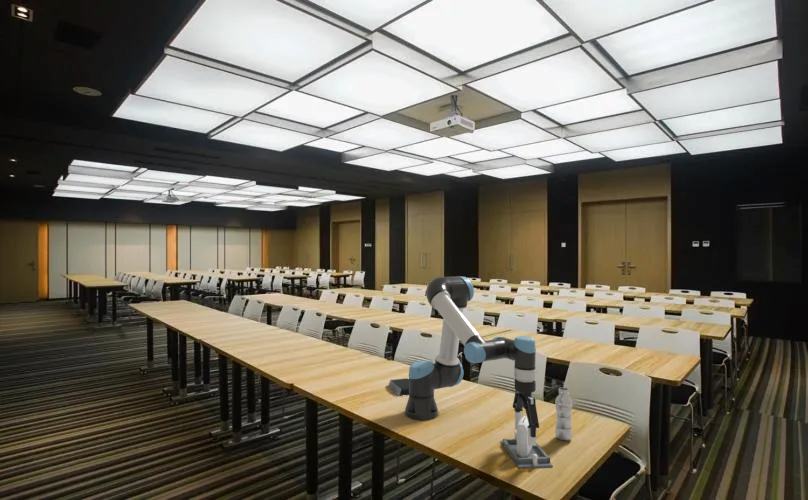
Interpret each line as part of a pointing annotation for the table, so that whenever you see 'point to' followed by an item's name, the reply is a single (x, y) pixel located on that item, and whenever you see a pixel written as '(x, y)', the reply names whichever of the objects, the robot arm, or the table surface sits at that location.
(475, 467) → the table surface
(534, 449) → the tray
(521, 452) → the photo printer
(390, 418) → the table surface
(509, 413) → the table surface
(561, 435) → the plastic bottle
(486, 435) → the table surface
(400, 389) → the external hard drive
